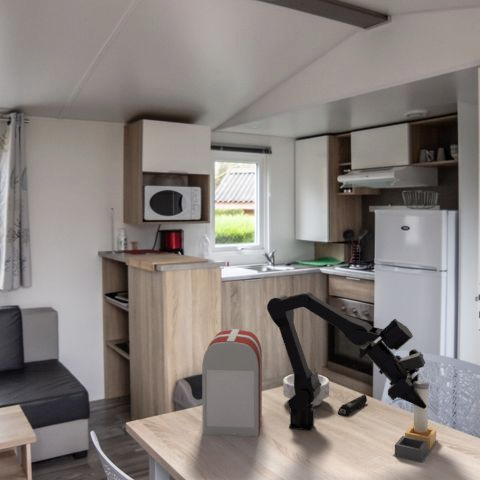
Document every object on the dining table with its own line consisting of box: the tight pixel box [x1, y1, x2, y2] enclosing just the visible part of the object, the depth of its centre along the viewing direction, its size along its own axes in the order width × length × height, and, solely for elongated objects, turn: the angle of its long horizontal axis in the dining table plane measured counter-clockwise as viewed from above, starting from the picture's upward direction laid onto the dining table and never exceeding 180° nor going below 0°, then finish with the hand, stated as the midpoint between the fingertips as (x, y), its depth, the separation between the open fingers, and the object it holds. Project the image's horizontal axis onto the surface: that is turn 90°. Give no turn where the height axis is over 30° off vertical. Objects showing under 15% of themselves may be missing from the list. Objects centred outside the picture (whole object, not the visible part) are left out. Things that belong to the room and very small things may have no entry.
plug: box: [413, 380, 430, 433], centre depth 151 cm, size 4×4×13 cm
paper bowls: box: [282, 373, 330, 407], centre depth 186 cm, size 15×15×8 cm
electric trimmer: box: [337, 394, 368, 417], centre depth 181 cm, size 4×16×3 cm, turn 141°
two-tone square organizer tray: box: [392, 424, 439, 464], centre depth 148 cm, size 16×8×4 cm, turn 147°
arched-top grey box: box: [201, 328, 263, 437], centre depth 167 cm, size 16×18×27 cm
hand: (426, 405), depth 151 cm, fingers closed on plug, 4 cm apart
